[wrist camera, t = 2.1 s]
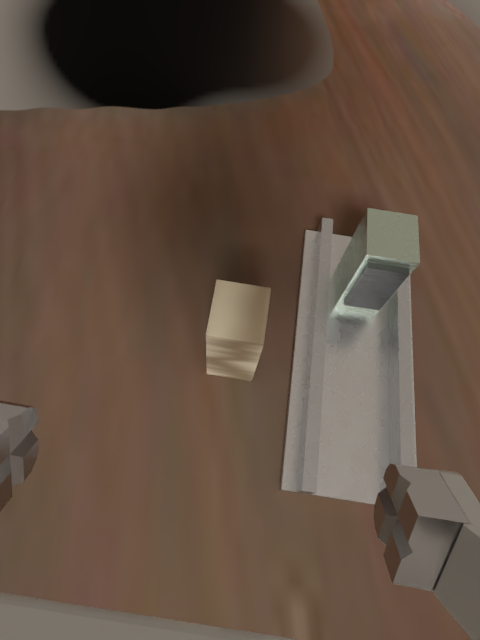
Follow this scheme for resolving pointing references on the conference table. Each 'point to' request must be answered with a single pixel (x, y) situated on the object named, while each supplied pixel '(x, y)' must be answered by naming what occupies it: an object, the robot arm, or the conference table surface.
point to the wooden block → (236, 329)
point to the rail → (352, 360)
